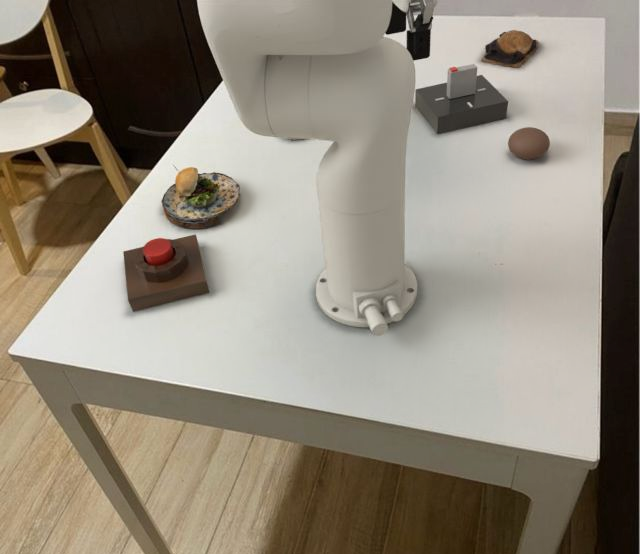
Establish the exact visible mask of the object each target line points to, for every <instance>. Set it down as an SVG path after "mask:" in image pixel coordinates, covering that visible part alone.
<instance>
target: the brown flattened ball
mask: <svg viewBox="0 0 640 554" xmlns="http://www.w3.org/2000/svg"><path fill="white" fill-rule="evenodd" d="M507 145H508V149H509V151H510V153H511V154H512V155H514V156H515V157H516V158H518V159H522V160H535V159H539V158H540V157H543V156H544V155H545V154H546V153H547V152H548V151H549V149H550V145H551V141H550V137H549V136H548V134H547V133H546V132H545V131H544V130H542V129H540V128H538V127H531V126H529V127H528V126H527V127H522V128H519V129H517V130H515V131H514V132H513V133H511V135H510V136H509V137H508V141H507Z"/></svg>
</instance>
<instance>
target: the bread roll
mask: <svg viewBox="0 0 640 554" xmlns="http://www.w3.org/2000/svg"><path fill="white" fill-rule="evenodd" d="M498 36H499V37H498V38H495V39H493V40H492V41H491V42H490V43H487V44H486V45H485V48H484V49H485V53H484V54H483V55H482V57H481V62H483V63H485V64H486V63H488V64H492V65H500V66H502V67H509V68H521V67H522V66H523V65H524V63H526V62H527V61H528V59H529V58H530V57H532V56H533V54H534V53H535V51H537V49H538V47H539V44H540V43H539V40H537V39H533V38H532V37H531V35H529V34H528V33H526V32H524V31H522V30H517V29H512V30H507V31H503V32H502V33H500V34H499V35H498Z"/></svg>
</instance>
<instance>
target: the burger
mask: <svg viewBox="0 0 640 554" xmlns="http://www.w3.org/2000/svg"><path fill="white" fill-rule="evenodd" d="M172 166H173V167H174V169H175V170H176V171H177V172H178V173H177V174H176V177H175V180H174V181H175V182H174V183H173V184H172V185H170V187H168V189H167V190H166V191H165V193H163V197H162V198H161V205H162V207H163V214H164V216H165V218H166V219H167V220H168V221H169V222H170V223H172V224H173V225H175V226H179V227H181V228H186V229H203V228H206V227H209V226H210V227H213V226H215V225H217V224H218V221H219V218H220V216H222V215H223V214H226V213H227V212H229V211H230V210H231V209H232V208H233V206H234V205H235V204H236V203H237V202H238V200H239V198H240V195H241V186H240V184H239V183H238V182H237V181H236V180H234V178H232V177H231V176H229V175H227V174H226V173H221V172H216V171H213V172H210V173H207V172H202V173H199V171H198V168H197V167H193V166H191V167H185V168H183V169H181V170H178V168H176V166H174V164H172Z"/></svg>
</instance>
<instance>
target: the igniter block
mask: <svg viewBox="0 0 640 554" xmlns="http://www.w3.org/2000/svg"><path fill="white" fill-rule="evenodd" d="M166 239H167V240H169V241H170V243H171V246H172V249H173V252H174V258H173V259H172V260H171V261H169V262H168V263H166V264H163V265H159V266H152V265H149V264H148V263H147V261H146V258H145V255H144V253H143V247H144V245H143V246H141V247H136V248H132V249H128V250H124V251H122V253H123V262H124V263H123V264H124V273H125V285H126V286H125V287H126V296H127V301H128V303H129V307H130V308H131V311H132V313H134V312H138V311H142V310H146V309H150V308H155V307H158V306H162V305H166V304H170V303H176V302H178V301H183V300H186V299H190V298H195V297H198V296H202V295H206V294H210V287H209V284H208V283H209V282H208V280H207V279H208V277H207V275H206V269H205V266H204V262H203V256H202V252H201V248H200V244H199V241H198V240H199V239H198V237H197V234H191V235H186V236H182V237H177V238H174V239H171V238H166Z"/></svg>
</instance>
